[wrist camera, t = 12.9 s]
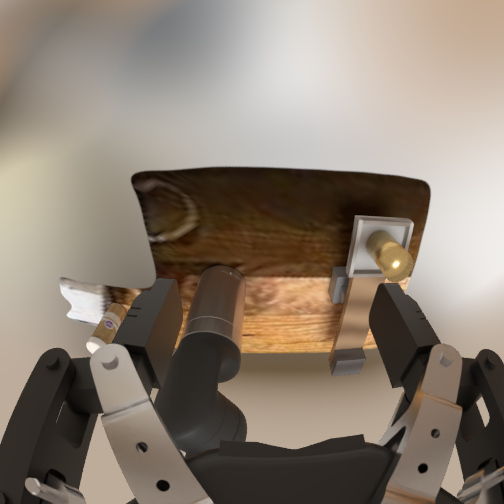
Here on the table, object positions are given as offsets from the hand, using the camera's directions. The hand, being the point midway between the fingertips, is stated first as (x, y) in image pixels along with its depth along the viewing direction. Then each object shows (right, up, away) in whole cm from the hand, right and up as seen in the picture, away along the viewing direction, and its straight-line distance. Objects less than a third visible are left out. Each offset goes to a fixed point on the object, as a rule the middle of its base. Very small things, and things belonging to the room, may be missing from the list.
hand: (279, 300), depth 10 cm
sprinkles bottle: (-32, -12, +47) cm, 58 cm away
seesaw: (+18, -7, +35) cm, 40 cm away
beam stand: (+18, -4, +41) cm, 45 cm away
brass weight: (+18, +3, +27) cm, 33 cm away
